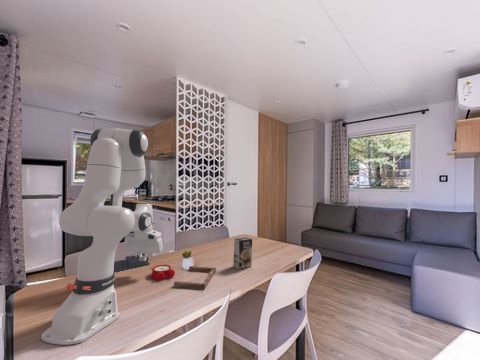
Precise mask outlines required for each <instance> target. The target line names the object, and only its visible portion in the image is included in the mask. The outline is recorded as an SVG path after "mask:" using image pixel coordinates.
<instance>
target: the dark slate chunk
mask: <svg viewBox="0 0 480 360" xmlns="http://www.w3.org/2000/svg"><path fill="white" fill-rule="evenodd" d="M141 254H142V256H145V254H144V252H142V253H141ZM149 259H150V258H149V256H147V258H146V261H140V257H139V256H138V254H136V255H131V256H129V255H128V256H125V259H122V260H115V261H114V272H116V273H120V271H121V272H125V270H126V271H129V269H130V270H134V269H139V268H142V267H146V266H147V267H148V266H149V265H150V264H151V263H150V262H148V261H149ZM138 267H139V268H138ZM133 268H134V269H133Z"/></svg>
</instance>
